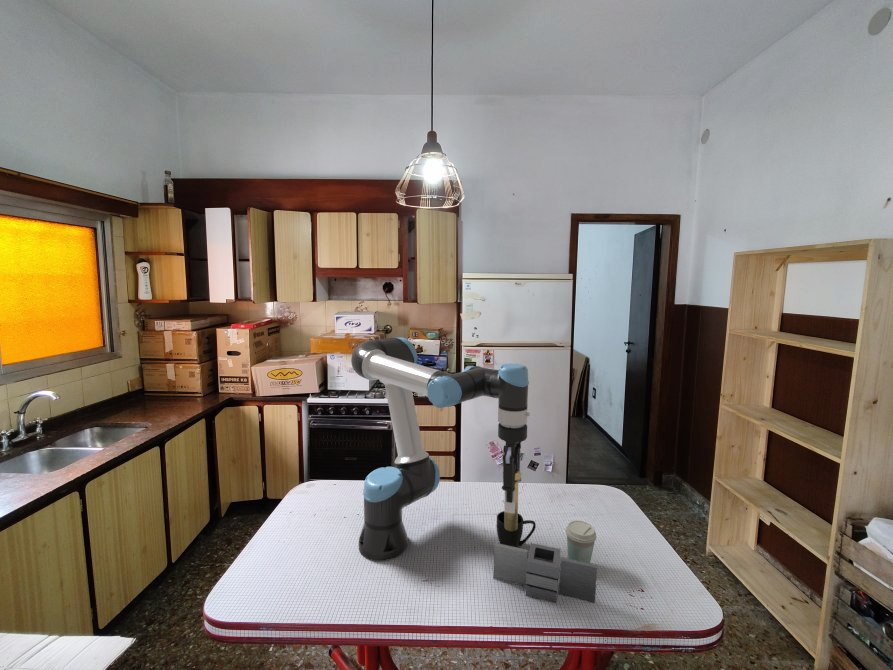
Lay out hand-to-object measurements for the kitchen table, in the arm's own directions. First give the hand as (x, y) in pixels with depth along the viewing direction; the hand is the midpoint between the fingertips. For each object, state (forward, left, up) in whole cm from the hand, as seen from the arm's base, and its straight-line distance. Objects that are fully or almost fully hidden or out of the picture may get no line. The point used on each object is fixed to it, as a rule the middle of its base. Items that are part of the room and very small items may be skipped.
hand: (511, 507), depth 109 cm
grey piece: (+4, +1, -22) cm, 23 cm away
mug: (-1, +17, -23) cm, 28 cm away
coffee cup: (+18, +14, -23) cm, 33 cm away
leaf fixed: (+14, +1, -22) cm, 26 cm away
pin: (0, 0, -6) cm, 6 cm away
